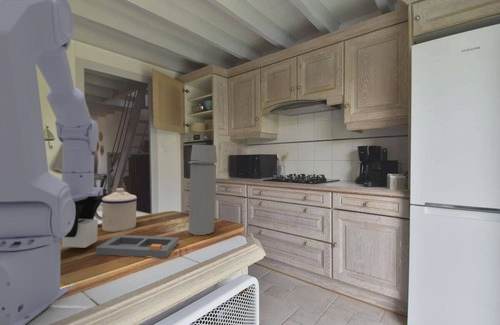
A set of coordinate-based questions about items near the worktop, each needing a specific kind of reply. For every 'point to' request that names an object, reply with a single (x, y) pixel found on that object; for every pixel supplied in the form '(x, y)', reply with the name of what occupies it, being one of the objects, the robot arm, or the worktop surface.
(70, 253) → the worktop surface
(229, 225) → the worktop surface
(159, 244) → the grey divided tray
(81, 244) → the block
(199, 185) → the water bottle
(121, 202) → the teacup with lid
